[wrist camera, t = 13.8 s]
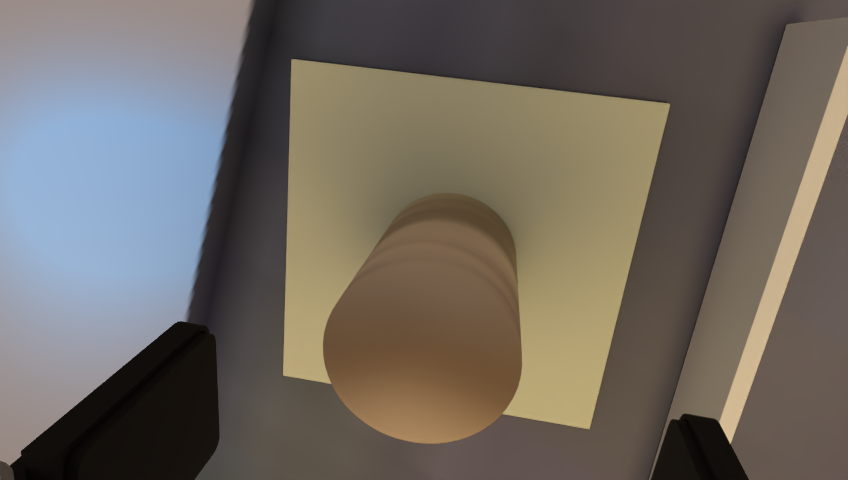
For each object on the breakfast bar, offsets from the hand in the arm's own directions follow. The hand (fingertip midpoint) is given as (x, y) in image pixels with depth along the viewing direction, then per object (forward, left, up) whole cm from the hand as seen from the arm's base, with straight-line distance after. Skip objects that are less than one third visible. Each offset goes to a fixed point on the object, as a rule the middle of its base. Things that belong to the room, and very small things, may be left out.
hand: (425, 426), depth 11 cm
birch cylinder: (+1, -1, -12) cm, 12 cm away
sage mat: (+1, 0, -12) cm, 12 cm away
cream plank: (+1, +10, -12) cm, 16 cm away
